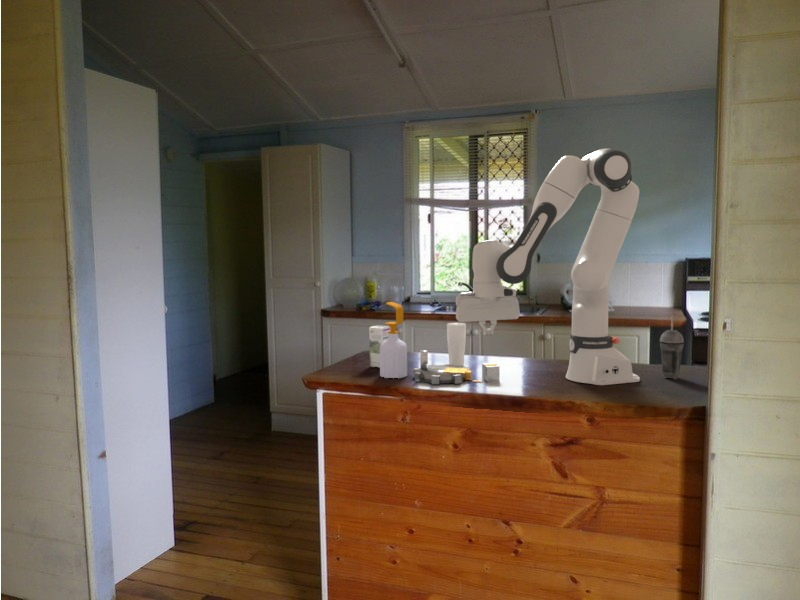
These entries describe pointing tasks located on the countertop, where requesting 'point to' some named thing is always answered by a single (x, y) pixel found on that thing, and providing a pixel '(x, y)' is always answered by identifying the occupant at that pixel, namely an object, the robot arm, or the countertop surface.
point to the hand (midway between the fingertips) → (488, 334)
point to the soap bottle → (393, 349)
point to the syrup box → (377, 343)
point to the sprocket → (440, 372)
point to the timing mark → (476, 381)
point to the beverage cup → (671, 352)
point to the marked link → (490, 372)
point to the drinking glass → (456, 343)
